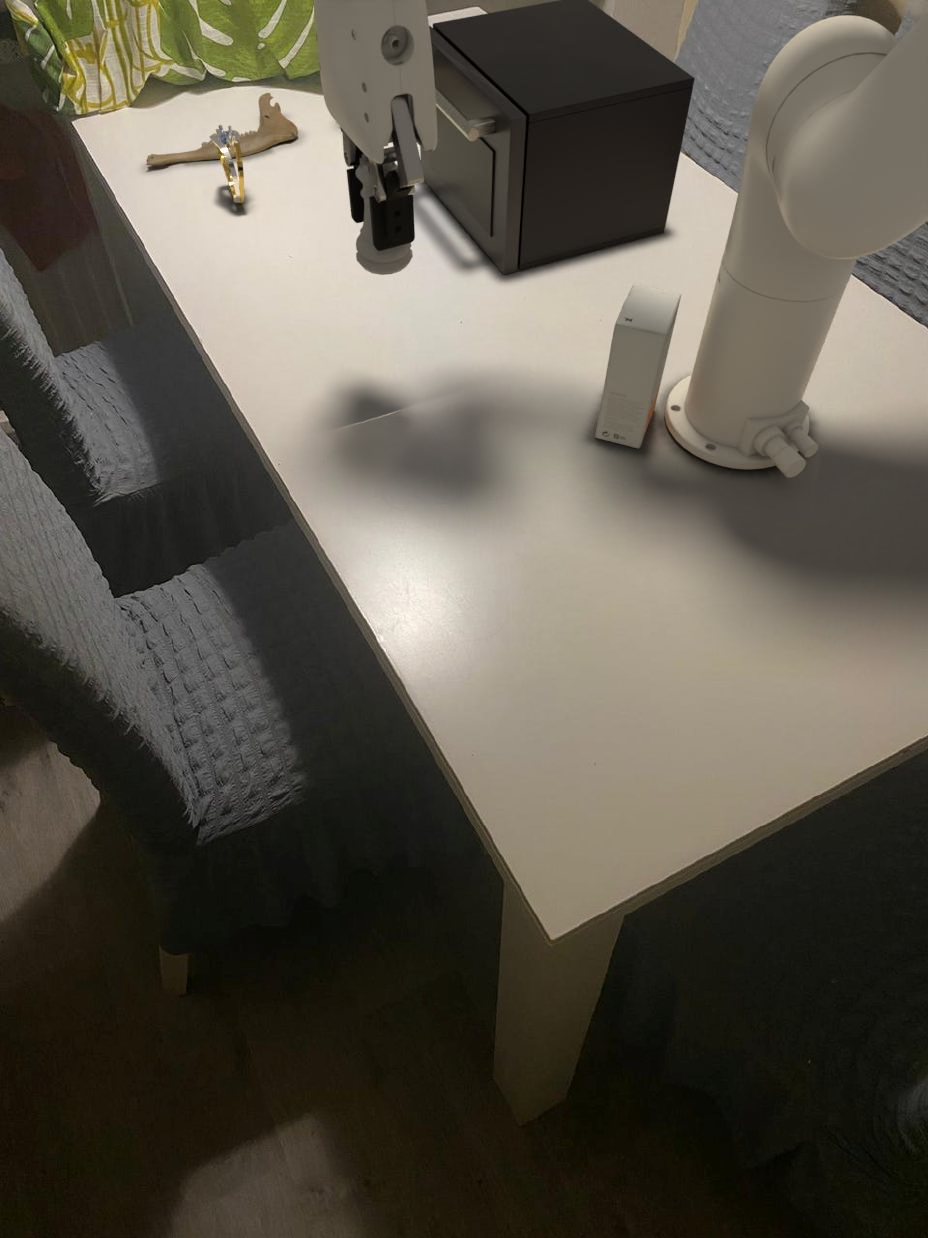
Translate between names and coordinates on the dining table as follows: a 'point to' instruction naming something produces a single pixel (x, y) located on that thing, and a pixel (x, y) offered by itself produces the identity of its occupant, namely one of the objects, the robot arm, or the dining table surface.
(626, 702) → the dining table surface
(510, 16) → the oven
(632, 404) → the cosmetic box
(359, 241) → the rook chess piece
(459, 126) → the oven door
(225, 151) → the ring
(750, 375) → the robot arm
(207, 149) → the jawbone
